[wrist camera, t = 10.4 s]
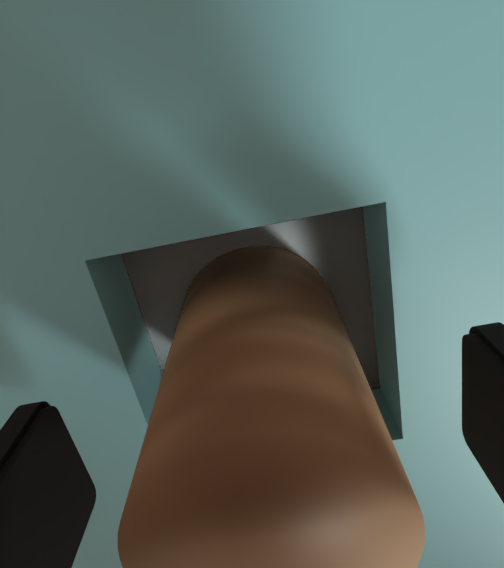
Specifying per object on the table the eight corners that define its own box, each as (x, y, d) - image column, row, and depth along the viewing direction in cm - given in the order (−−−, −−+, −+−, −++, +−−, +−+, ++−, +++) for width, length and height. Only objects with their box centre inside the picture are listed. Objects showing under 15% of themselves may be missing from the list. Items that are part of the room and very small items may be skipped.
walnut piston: (323, 232, 13) (419, 408, 6) (341, 366, 15) (429, 620, 8) (164, 262, 14) (70, 465, 6) (203, 389, 16) (165, 654, 8)
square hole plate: (669, -225, 9) (809, -329, 7) (567, 498, 18) (614, 557, 16) (-265, 9, 11) (-404, -14, 8) (64, 571, 19) (40, 634, 17)
